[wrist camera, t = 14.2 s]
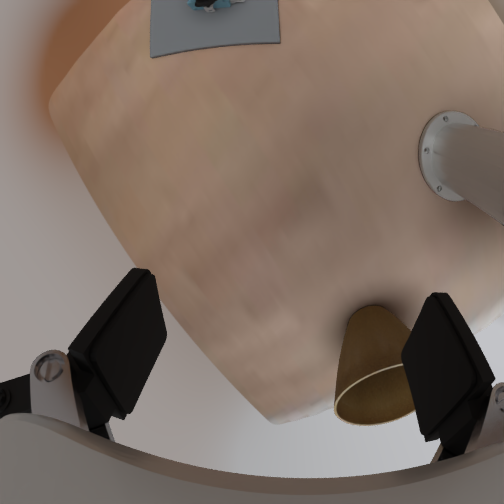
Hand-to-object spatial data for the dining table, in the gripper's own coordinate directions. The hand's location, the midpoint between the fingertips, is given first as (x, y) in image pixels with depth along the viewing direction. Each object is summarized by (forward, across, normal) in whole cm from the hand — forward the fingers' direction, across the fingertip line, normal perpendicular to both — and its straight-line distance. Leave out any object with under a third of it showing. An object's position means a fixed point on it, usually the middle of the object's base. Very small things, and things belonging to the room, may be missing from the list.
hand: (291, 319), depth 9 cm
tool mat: (+27, +10, -22) cm, 36 cm away
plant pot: (+28, -15, +24) cm, 39 cm away
